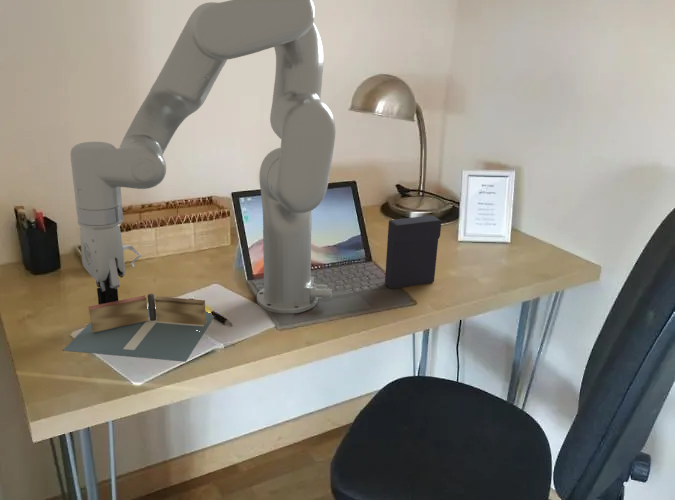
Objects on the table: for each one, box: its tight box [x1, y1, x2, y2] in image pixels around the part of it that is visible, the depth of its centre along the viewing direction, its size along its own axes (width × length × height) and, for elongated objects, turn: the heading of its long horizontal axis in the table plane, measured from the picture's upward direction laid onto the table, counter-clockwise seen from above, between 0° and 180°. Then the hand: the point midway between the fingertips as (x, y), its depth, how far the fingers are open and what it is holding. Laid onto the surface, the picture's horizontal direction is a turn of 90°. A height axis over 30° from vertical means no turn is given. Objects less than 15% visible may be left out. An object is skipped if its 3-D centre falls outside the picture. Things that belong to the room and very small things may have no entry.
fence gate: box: [88, 295, 148, 332], centre depth 114 cm, size 10×1×5 cm, turn 120°
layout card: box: [62, 305, 218, 362], centre depth 114 cm, size 22×18×1 cm
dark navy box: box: [384, 214, 442, 290], centre depth 134 cm, size 11×4×15 cm, turn 113°
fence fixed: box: [147, 293, 207, 325], centre depth 116 cm, size 11×1×5 cm, turn 83°
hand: (108, 307), depth 115 cm, fingers closed
